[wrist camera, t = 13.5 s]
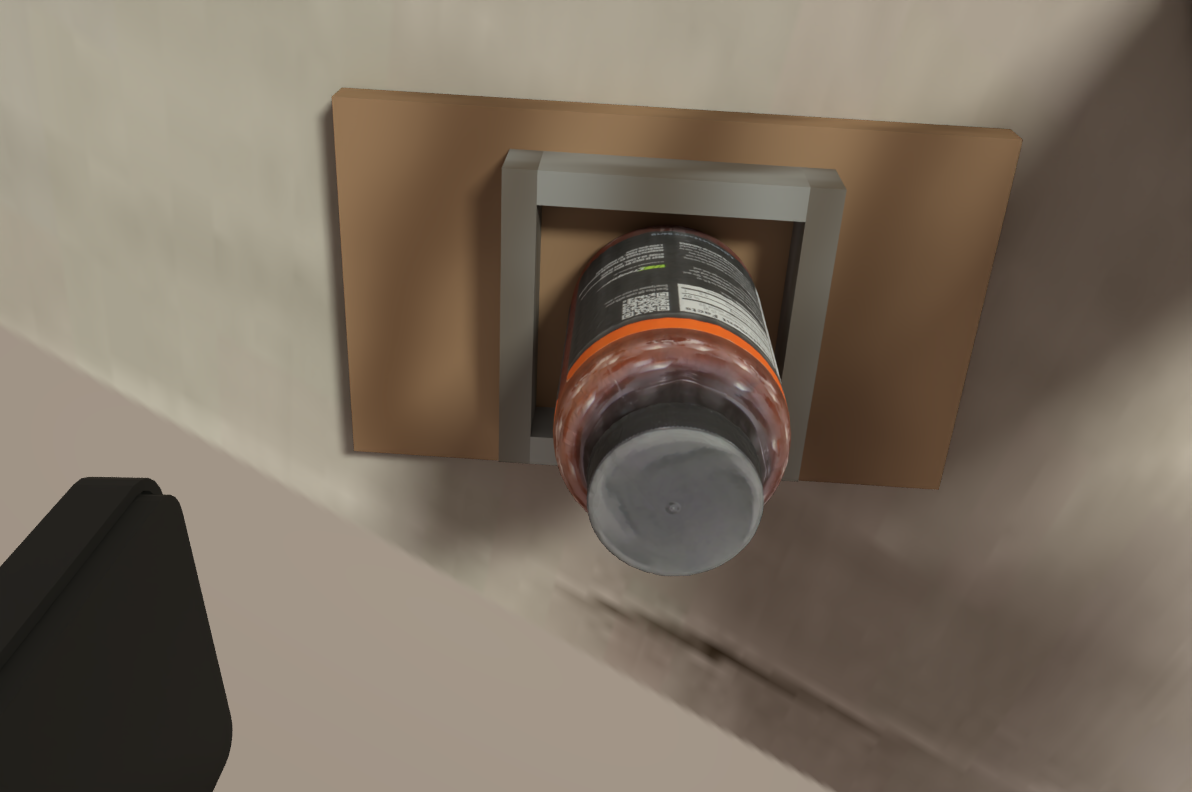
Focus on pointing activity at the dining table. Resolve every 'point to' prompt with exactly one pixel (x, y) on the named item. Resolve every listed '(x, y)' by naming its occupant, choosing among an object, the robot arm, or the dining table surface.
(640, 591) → the dining table surface
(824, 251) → the cap board
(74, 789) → the robot arm
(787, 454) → the supplement bottle
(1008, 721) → the dining table surface
